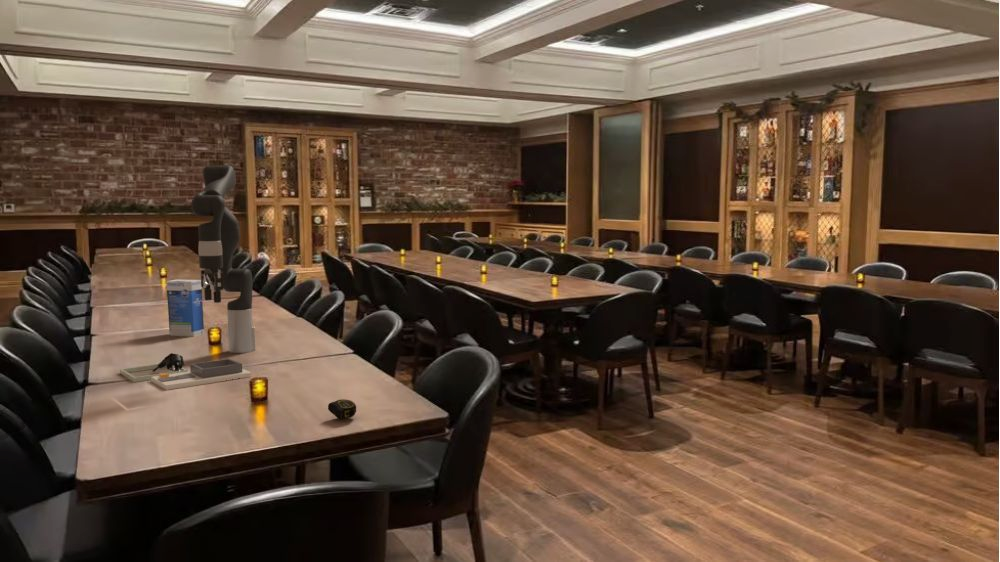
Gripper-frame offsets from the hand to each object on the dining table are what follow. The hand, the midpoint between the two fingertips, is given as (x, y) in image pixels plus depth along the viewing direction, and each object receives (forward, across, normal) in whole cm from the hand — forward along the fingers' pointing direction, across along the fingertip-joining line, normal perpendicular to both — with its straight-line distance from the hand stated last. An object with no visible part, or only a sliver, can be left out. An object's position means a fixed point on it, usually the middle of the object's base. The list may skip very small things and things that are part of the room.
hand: (212, 301), depth 252 cm
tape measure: (+26, -72, -5) cm, 77 cm away
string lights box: (+27, +85, -18) cm, 91 cm away
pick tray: (+26, +18, +15) cm, 35 cm away
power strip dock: (+26, -1, +5) cm, 27 cm away
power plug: (+28, +19, +15) cm, 37 cm away
